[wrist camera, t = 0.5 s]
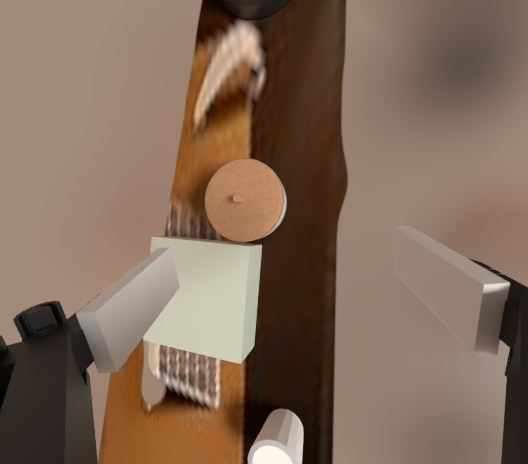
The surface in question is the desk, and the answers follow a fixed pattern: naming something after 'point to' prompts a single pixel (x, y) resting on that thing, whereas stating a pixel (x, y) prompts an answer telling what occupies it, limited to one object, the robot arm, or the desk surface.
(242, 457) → the desk surface
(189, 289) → the sage box
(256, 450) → the white tapered cup
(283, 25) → the desk surface
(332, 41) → the desk surface
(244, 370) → the desk surface
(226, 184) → the lidded jar
